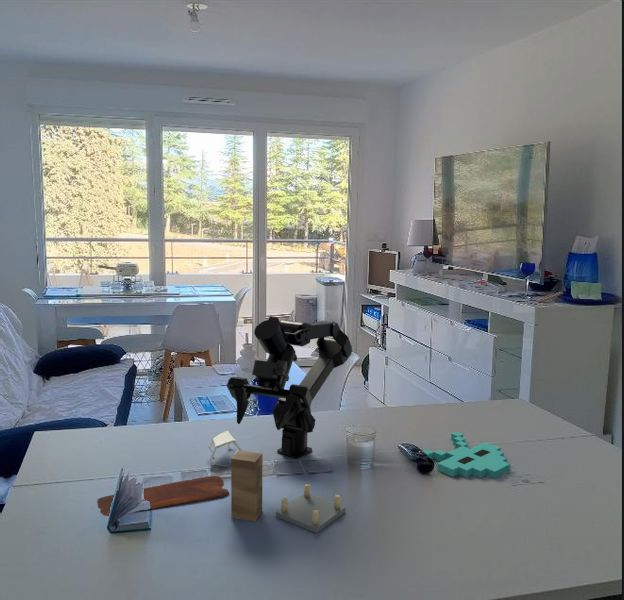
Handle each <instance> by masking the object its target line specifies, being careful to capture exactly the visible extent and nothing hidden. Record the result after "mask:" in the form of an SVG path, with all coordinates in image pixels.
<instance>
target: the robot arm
mask: <svg viewBox="0 0 624 600" xmlns="http://www.w3.org/2000/svg"><path fill="white" fill-rule="evenodd" d="M253 331H254V332H253V333H254V336H255V338H256V339H257V341H258V343H259V344H260V346H261V348H262V350H264V352H265V353H266V354H268V358H267V360H259V359H256V360H254V363H253V367H252V372H251V373H252V374H251V375H252V376H255V382H256V383H258V385H255V384H250V382H249V380H248V378H247V377H241V376H240V377H239V376H231V377H229V379H228V380H227V383H226V385H225V386H226V388H227V389H228V392H229V393H230V395H231V398H233V399H234V400H235V401H236V422H237V425H240V424H241V423H242V421H243V419H244V416H245V413H246V412H247V408H248V406H249V404H250V401H249V399H251V395H257V396H263V397H270V398H278V399H277V403H276V404H274V405H275V406H274V407H273V411H272V414H273V415H272V416H273V421H274V425H275V428H276V430H277V431H280V430H281V429H282V430H281V431H282V432H281V435H282V436H281V447H280V448H278V449H276V452H277V453H278V454H282V455H285V456H288V457H291V458H295V459H299V458H301V457H303V456H304V455H307V454H308V453H310V452H312V451H313V447H309V446H308V433H313V431H314V429H315V425H316V418H315V417H314V416H313V415H312V410H311V405H312V401H314V398H315V397H316V395H317V394H318V392H319V391H320V390H321V388H322V387H323V385H324V383H326V380H327V379H328V377H329V376H330V375H331V373H332V372H333V370H334V369H336V368H338V367H341V366H342V365H344V364H345V363H346V362H347V361H348V359H349V358H350V357H351V355H352V353H353V352H352V351H353V347H352V344H351V341H350V338H349V336H348V335H347V334H346V333H345V332H344V331H343V330H341V328H340V327H339V324H338V322H335V321H330V320H323V319H322V320H319V321H314V322H303V321H296V320H295V321H294V320H286V319H283V320H281V321H280V320H279V317H278V316H269V318H267V320H264V321H261V322H260V323H258V325H256V327H255V328H254V330H253ZM315 339H317V340H316V346H317V350H318V356H319V357H318V358H317V359H316V360H315V362H314V363H313V365H312V366H311V367H310V369H309V370H308V372H307V373H306V375H305V376H304V377H303V379H302V380H301V382H300V383H299V384H294V383H292V384H291V385H290V386H289V388H288V389H285V387H286V385H287V384H286V383H287V382H289V380H290V376H289V375H290V370H291V368H292V365H293V362H297V361H298V356H297V354H296V353H297V351H296V350H295V348H294V346H295V347H296V346H297V347H305V346H306V345H308V344H309V345H310V343H311V340H315Z"/></svg>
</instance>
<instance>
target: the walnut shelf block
mask: <svg viewBox="0 0 624 600" xmlns="http://www.w3.org/2000/svg"><path fill="white" fill-rule="evenodd" d="M238 450H239V449H238ZM238 450H237V451H238ZM241 450H242V449H241ZM241 450H239V451H238V452H237V451H236V452H237V453H236V454H235V455H234V456H233V455H232V457H231V458H230V481H231V482H230V486H231V487H230V492H231V493H230V494H231V496H230V497H231V498H230V501H231V502H230V504H231V505H230V506H231V508H230V509H231V511H230V512H231V515H230V516H231V519H235V520H242V521H247V522H254V523H255V522H256V521H257V520H258V519H259V517H260V515H262V513H263V459H264V457H263V455H264V454H263V453H262V452H261V453H260V452H256V451H255V452H253V451H247V450H242V451H241Z"/></svg>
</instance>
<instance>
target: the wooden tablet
mask: <svg viewBox="0 0 624 600" xmlns="http://www.w3.org/2000/svg"><path fill="white" fill-rule="evenodd" d="M224 484H225V483H224V480H223V477H221V476H220V475H211V476H204V477H197V478H192V480H191V479H188V480H186V479H185V480H181V481H175V482H169V483H165V484H160V486H159V485H155V486H150V487H144V488H143V489H144V499H145V500H147V501H149V502H150V504H151V508H152V509H151V510H153V509H154V510H155V509H159V508H160V509H161V508H165V507H169V506H176V505H182V504H188V503H189V504H190V503H194V502H201V501H207V500H213V499H218V498H223V497H227V496H229V494H230V492H229V490H228V489H227V488H223V487H224ZM114 495H115V494H110V495H105V496H103V497H100V498H97V501H96V502H97V509H100V510H99V512H100V514H102V515H103V517H110V516H109V513H110V507H111V503H112V501H113V497H114Z"/></svg>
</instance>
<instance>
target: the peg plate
mask: <svg viewBox="0 0 624 600" xmlns="http://www.w3.org/2000/svg"><path fill="white" fill-rule="evenodd" d="M303 490H304V493H303V494H301V495H300V496H298V497H297V498H295V499H294V500H292V501H290V502H289V501H288V500H289V499H288V498H287V497H286V498H285V497H283V498H282V499H281V507H280V509H278V510H277V511H276V512H275V517H276V518H279V519H281V520H284V521H286V522H288V523H291V524H292V525H296V526H297V527H300V528H303V529H305V530H308V531H310V532H312V533H315V534H319V532H321V531H322V530H323V529H324V528H326V527H328V526H329V525H330V524H331V523H333V522H334V521H336V519H338V518H339V517H340V516H342V515H343V514H345V513H346V507H345V506H342V505H341V495H339V494H335V495H334V502H332V501H329V500H327V499H324V498H321V497H318V496H315V495H313V494H311V484H308V483H305V484H304V487H303ZM288 502H289V503H288Z"/></svg>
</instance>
